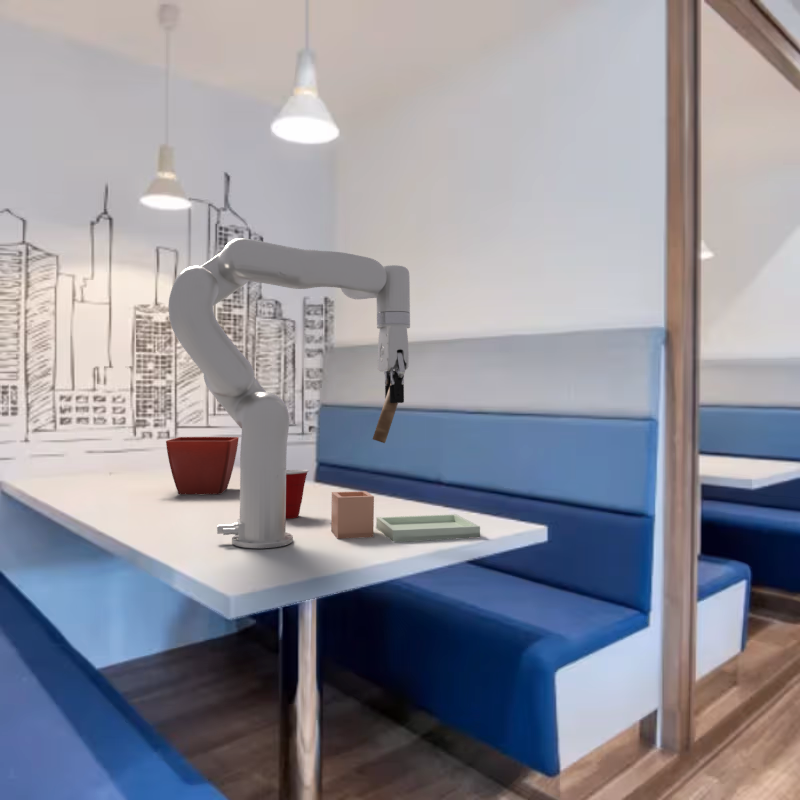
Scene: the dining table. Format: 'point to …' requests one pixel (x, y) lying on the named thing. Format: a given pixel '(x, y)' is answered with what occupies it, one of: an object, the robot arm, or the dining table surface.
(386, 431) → the dowel
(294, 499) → the plastic cup
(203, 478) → the plant pot
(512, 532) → the dining table surface
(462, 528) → the tray
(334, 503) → the pink square bin
